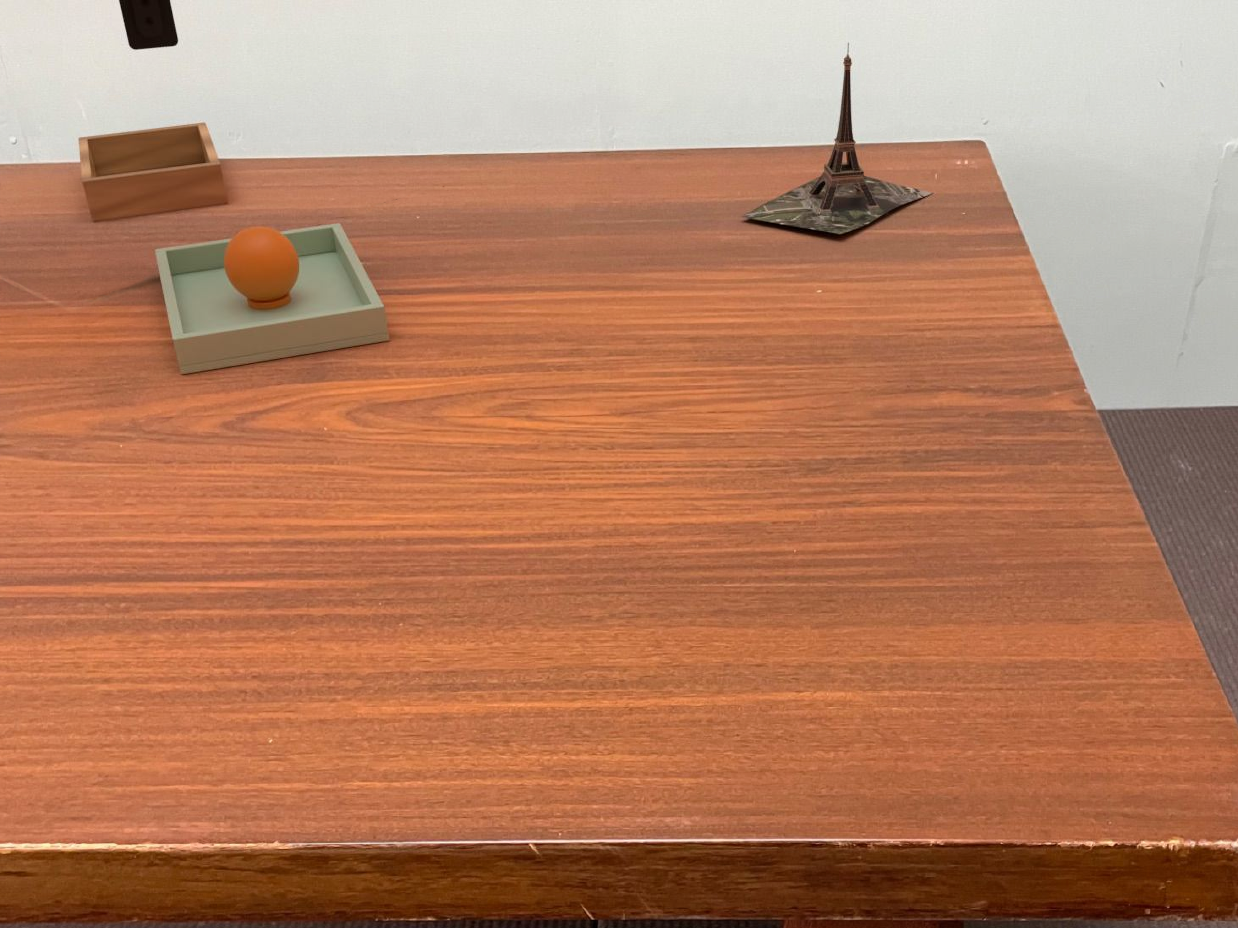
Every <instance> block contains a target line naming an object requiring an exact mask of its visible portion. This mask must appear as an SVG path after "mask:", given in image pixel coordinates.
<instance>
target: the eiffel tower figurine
mask: <svg viewBox="0 0 1238 928" xmlns="http://www.w3.org/2000/svg"><path fill="white" fill-rule="evenodd" d="M849 48H850V43H849V42H847V54H846V56H845V57H844V58H843V63H842V64H843V66H844V67H843V68H844V70H843V81H842V83H843V84H842V92H841V100H840V101H841V103H840V113H839V119H838V127H837V132H836V137H835V138H834V139H833V141H834V146H833V148H832V152H831V155H830V157H829V160H828V163H824V165H823V172H822V173H821V175H820V176H818V177H815V178H814V179H812V180H810V181H808V182H806V183H804V184H802V185H799V186H798V187H795V188H793V189H790V190H789V191H787V192H785V193H783V194H781V195H778V196H777V197H775V198H773V199H771V200H769V201H767V202H765V203H763V204H762V205H760V206H758V207H756V208H754V209H752V210H751V211H749V212H747V213H745V214H742V215H741V216H740V217H742V218H745V219H751V220H756V221H761V222H768V223H773V224H779V225H785V226H791V227H797V228H802V229H809V230H813V231H814V230H815V231H820V232H821V231H822V232H828V233H832V234H837V235H842V234H845V233H848V232H851V231H854V230H856V229H857V230H858V229H860V228H863V227H865V226H866V225H869V224H870V223H872V222H873V221H875V220H877V219H879V218H880V217H881V216H883V215H889V212H890V211H892V210H894V209H896V208H898V207H900V206H903V205H905V204H908V203H911V202H914V201H916V200H919V199H921V198H924V197H927V196H929V195H932V194H933V192H931V191H927V190H923V189H918V188H914V187H909V186H905V185H901V184H896V183H892V182H888V181H884V180H881V179H878V178H874V177H871V176H867V175H865V171H864V169H862V167H861V166H860V163H859V160H858V157H857V151H856V148H855V144H856V143H857V142H856V140H855V139H854V134H853V122H852V121H853V120H852V89H851V87H852V86H851V85H852V84H851V67H852V65H853V62H852V58H851V57H850V55H849V51H850V49H849ZM844 153H845V156H846V157H845V158H846V162H843V159H844Z"/></svg>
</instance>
